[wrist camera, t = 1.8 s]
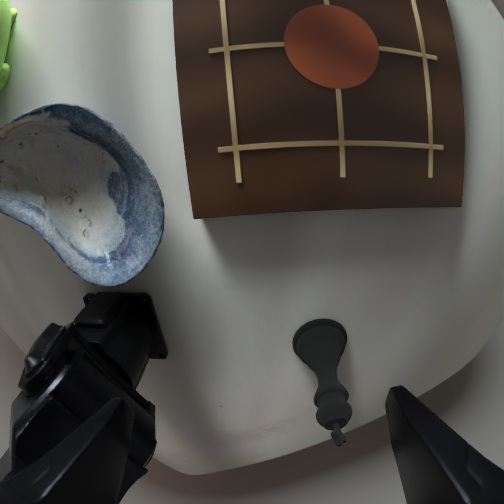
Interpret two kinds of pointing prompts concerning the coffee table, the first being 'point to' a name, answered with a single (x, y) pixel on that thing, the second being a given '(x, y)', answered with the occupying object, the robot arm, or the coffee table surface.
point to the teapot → (5, 37)
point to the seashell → (81, 191)
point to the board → (319, 105)
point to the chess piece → (326, 372)
